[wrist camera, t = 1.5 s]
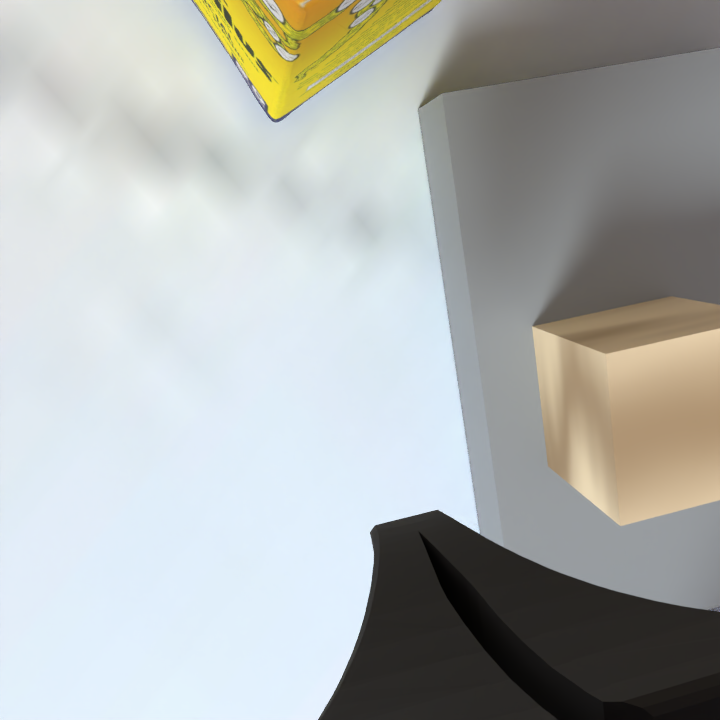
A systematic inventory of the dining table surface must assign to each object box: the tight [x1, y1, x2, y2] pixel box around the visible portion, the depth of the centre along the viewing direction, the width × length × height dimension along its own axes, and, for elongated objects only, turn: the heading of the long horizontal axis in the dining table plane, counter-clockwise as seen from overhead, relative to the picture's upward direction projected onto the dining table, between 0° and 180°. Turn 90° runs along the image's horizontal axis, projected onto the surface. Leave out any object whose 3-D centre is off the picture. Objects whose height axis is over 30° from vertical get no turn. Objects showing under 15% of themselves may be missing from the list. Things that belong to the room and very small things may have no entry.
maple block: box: [532, 296, 720, 526], centre depth 17 cm, size 4×4×4 cm
